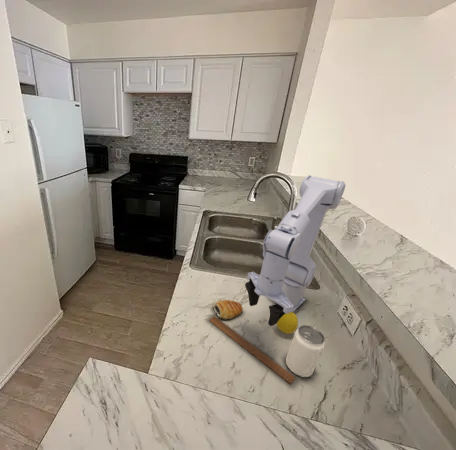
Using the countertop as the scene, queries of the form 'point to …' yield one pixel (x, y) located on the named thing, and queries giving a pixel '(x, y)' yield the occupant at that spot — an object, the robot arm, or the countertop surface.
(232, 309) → the pastry
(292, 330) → the lemon
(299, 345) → the can
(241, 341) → the strip
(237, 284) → the countertop surface
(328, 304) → the countertop surface
